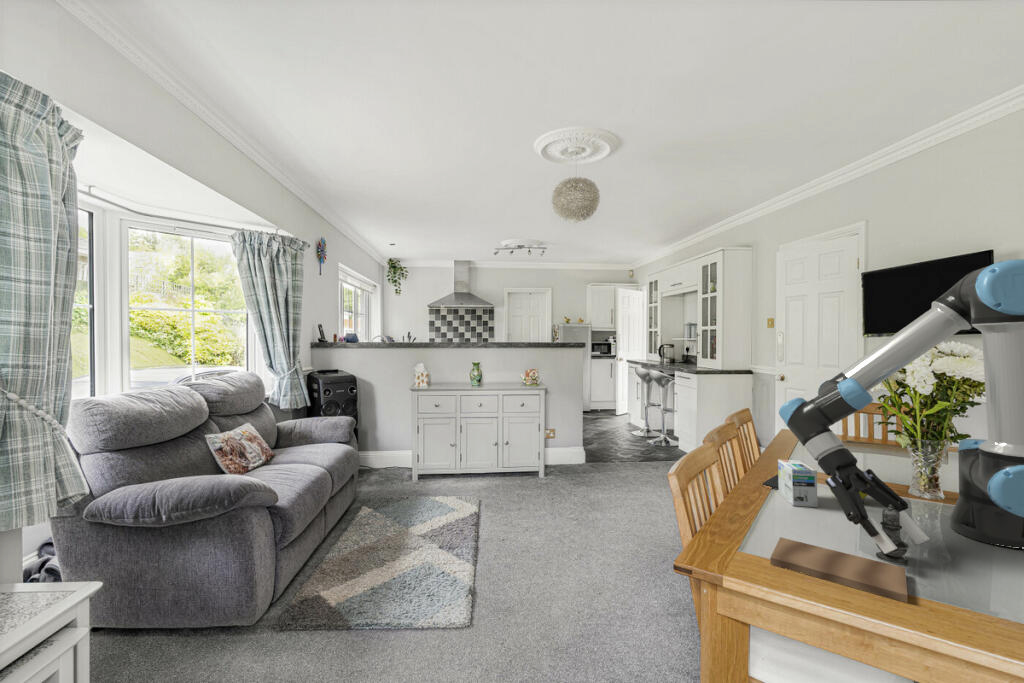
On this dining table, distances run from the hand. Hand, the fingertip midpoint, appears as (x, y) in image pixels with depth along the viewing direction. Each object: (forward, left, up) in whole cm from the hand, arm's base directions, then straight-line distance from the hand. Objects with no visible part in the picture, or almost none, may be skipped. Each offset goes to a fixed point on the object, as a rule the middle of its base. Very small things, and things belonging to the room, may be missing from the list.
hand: (907, 546), depth 92 cm
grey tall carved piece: (+3, -2, -4) cm, 5 cm away
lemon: (+12, -38, -4) cm, 40 cm away
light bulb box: (+24, -28, -4) cm, 37 cm away
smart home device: (+28, -44, -5) cm, 52 cm away
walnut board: (+12, +11, -4) cm, 17 cm away
